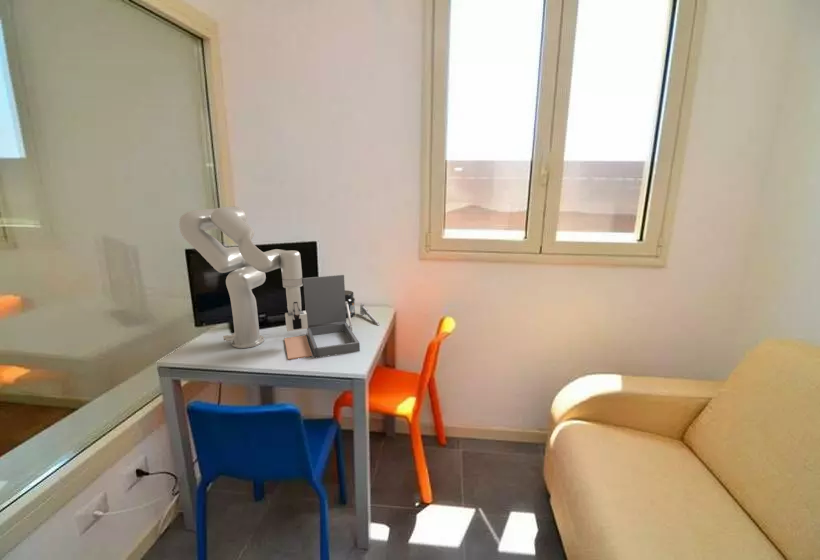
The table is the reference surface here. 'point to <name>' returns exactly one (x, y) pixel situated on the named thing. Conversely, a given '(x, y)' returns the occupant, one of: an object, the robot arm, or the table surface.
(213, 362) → the table surface
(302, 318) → the module
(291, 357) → the rubber mat
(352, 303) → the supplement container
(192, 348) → the table surface
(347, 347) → the equipment case
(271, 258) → the robot arm
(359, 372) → the table surface
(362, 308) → the caliper
